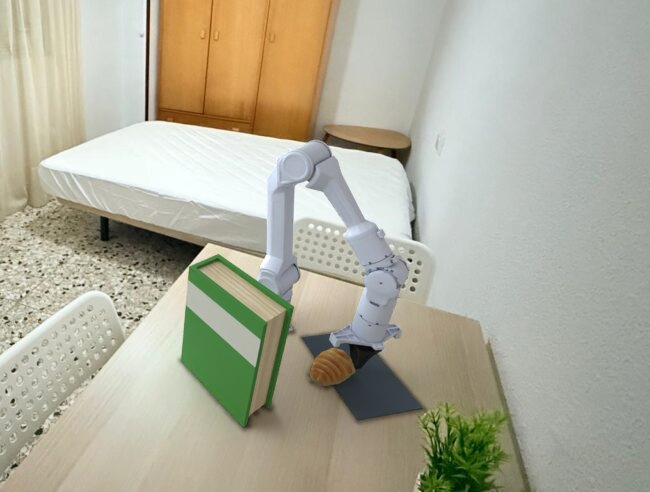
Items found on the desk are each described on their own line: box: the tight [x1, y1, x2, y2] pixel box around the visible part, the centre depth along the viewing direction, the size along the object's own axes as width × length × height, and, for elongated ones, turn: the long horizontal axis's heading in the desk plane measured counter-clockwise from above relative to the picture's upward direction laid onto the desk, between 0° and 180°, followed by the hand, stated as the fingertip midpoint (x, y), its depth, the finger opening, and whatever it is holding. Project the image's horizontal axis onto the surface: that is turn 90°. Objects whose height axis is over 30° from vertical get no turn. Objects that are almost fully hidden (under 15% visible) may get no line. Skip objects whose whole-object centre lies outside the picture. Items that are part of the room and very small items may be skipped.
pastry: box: [309, 348, 355, 387], centre depth 81 cm, size 9×7×4 cm
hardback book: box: [180, 253, 295, 428], centre depth 74 cm, size 18×7×24 cm, turn 36°
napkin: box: [301, 332, 423, 421], centre depth 83 cm, size 20×14×1 cm
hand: (355, 365), depth 82 cm, fingers closed
